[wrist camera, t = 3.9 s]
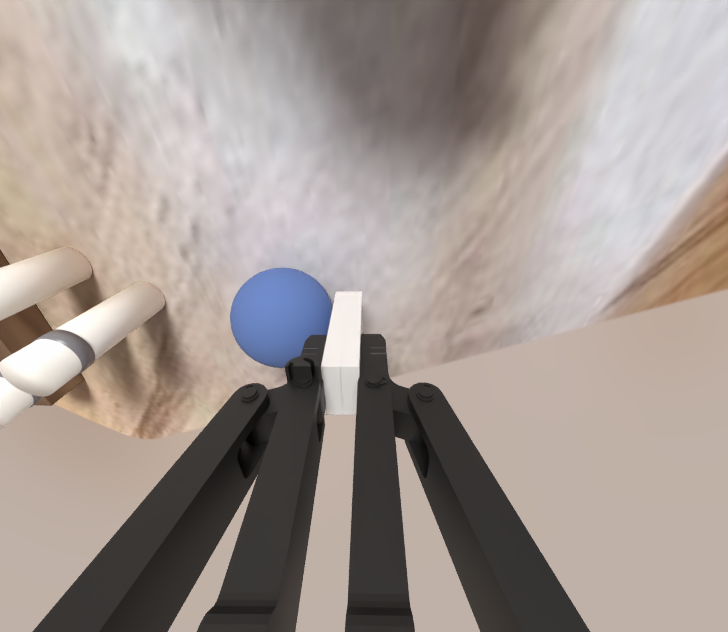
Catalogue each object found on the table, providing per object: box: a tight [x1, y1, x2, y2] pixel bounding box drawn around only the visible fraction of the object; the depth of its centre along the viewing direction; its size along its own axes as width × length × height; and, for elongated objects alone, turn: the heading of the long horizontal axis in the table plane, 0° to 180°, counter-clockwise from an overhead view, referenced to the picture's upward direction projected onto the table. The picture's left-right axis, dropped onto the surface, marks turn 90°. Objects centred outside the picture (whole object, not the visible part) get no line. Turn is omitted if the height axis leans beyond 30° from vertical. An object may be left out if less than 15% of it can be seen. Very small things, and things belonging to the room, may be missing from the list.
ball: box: [230, 268, 333, 368], centre depth 18 cm, size 6×6×6 cm
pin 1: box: [0, 372, 45, 429], centre depth 19 cm, size 2×2×8 cm
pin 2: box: [0, 247, 92, 321], centre depth 17 cm, size 2×2×8 cm
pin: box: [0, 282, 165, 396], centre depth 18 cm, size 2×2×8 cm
